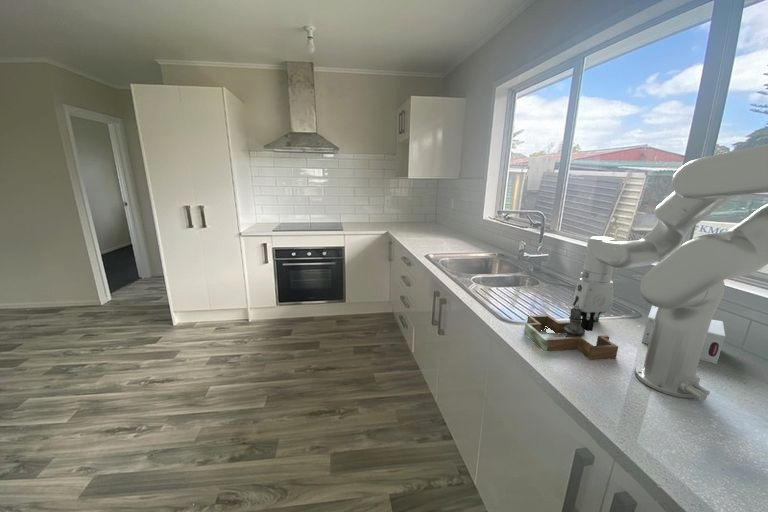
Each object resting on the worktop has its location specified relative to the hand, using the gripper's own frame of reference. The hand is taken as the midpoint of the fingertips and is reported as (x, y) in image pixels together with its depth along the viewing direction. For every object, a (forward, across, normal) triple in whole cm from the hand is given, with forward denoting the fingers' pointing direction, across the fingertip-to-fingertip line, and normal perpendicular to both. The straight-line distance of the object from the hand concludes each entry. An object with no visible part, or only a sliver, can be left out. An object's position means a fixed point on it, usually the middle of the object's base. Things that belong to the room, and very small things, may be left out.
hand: (586, 328), depth 99 cm
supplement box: (+4, +27, -6) cm, 28 cm away
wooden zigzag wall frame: (+4, -7, -1) cm, 8 cm away
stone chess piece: (+4, -4, 0) cm, 5 cm away
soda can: (+4, +13, +14) cm, 19 cm away
